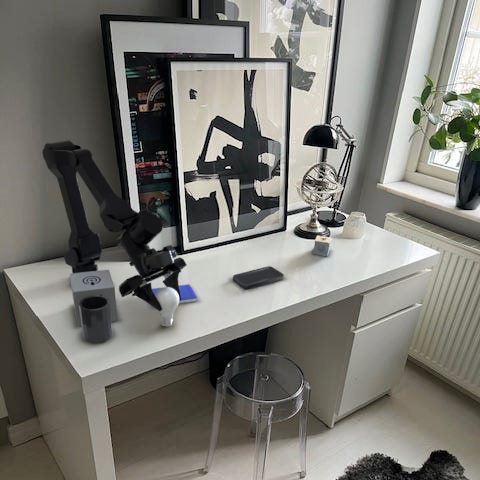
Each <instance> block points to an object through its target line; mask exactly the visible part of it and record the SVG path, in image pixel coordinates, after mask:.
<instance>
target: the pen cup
mask: <svg viewBox="0 0 480 480" xmlns="http://www.w3.org/2000/svg"><path fill="white" fill-rule="evenodd" d="M79 309H80V317H81V324H82V326H81V331H82V338H83V340H84V341H86V342H87V343H90V344H102V343H106V342H108V341H109V340H111V338H112V337H113V324H112V322H113V321H112V322H111V311H110V301H109V299H108V298H106V297H104V296H99V295H93V296H88V297H85V298H83V299H82V300H81V301H80V302H79Z"/></svg>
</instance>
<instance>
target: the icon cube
mask: <svg viewBox="0 0 480 480" xmlns="http://www.w3.org/2000/svg"><path fill="white" fill-rule="evenodd" d="M69 279H70V286H71V293H72V300H73V301H72V302H73V307H74V313H75V314H74V315H75V318H76V324H77V327H82V324H81V317H80V309H79V302H80V301H81V300H82V299H83V298H85V297H88V296H93V295H99V296H104V297H106V298H108V299H109V301H110V311H111V322H117V321H118V311H117V310H118V309H117V299H116V287H115V283H114V281H113V278H112V274H111V272H110V269H101V270H98V271H91V272H81V273H72V272H71V273H69Z"/></svg>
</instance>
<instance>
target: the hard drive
mask: <svg viewBox="0 0 480 480" xmlns="http://www.w3.org/2000/svg"><path fill="white" fill-rule="evenodd" d="M178 285H179V290H180V295H181V301H179V304H185V303H191V302H192V303H193V302H197V301H198V297H197V295H196V292H195V291H194V289H193V287H192V286H191V284H190V283H189V284H178ZM160 288H163V286H162V287H155V288H154V287H152V291H153V293H154V294H155V293H156V292H157V291H158V290H159V289H160Z"/></svg>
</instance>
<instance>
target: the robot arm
mask: <svg viewBox="0 0 480 480" xmlns="http://www.w3.org/2000/svg"><path fill="white" fill-rule="evenodd" d="M42 157H43V158H42V159H43V160H44V162H45V164H46V167H47V169H48V170H49V171H50V172H51V173H52V174H53V175H54V177H56V179H57V183H58V187H59V191H60V194H61V198H62V201H63V205H64V209H65V213H66V217H67V221H68V223H69V228H70V234H69V237H68V241H67V244H68V249H69V250H68V251H67V252H66V253H65V255H64V256H63V259H64V262H65V264H66V265H68V266H69V267H71V271H72V272H71V274H72V273H81V272H91V271H99V268H98V267H99V266H98V264H97V263H96V262H97V261H100V260H101V255H102V254H103V253H102V252H103V246H102V243H101V239H100V238H101V237H100V235H99V233H97V232H94V231H93V230H92V229H91V228H90V223H89V220H88V218H87V217H88V216H87V212H86V208H85V204H84V200H83V197H82V193H81V188H80V184H79V181H78V176H77V173H78V175H79V177H80V178H81V180H82V181H83V183H84V184H85V186H86V188H87V189H88V190H89V192H90V193H91V195H92V197H93V199H95V201H96V203H97V204H98V207H99V217H100V219H101V221H102V223H103V225H104V227H105V229H106V230H107V231H108V232H110V233H113V234H115V233H118V232H122V231H124V230H125V231H124V232H122V233H119V234H117V235H116V241H115V245H116V246H118V247H119V246H122V248H123V249H124V252H125V253H126V255H127V256H128V259H129V260H130V261H129V263H128V264H129V266H130V267H134V268H135V270H136V272H137V273H138V274H135V275H133V276H130V277H127V278H126V279H125V280H123V282H122V283H120V284H119V285H118V292H119V293H120V295H121V297H122V298H124V297H127V296H129V295H131V296H132V297H137V298H138V299H141V300H142V301H144V302H145V303H146V304H148V305H149V306H151V307H153V308H154V309H155V310H157V311H158V312H160V311H161V310H162V307H161V305H160V303H159V301H158V300H157V298H156V296H155V294H154V293H153V291H152V289H153V287H152V281H155V280H157V279H159V278H161V277H163V278H164V280H162V283H163V284H164V287H171V288H173V289H174V290H176V291H177V293H178V295H179V301H181V295H180V290H179V285H180V284H179V276H180V273H182V270H183V269H185V267H188V264H187V262H186V260H185V259H184V258H183V257H177V251H176V249H175V248H174V247H173V245H172V244H169V245H166V246H163V247H162V251H159V252H158V251H157V250H156V248H154V247H153V248H151V247H150V245H149V244H150V243H151V242H152V241H153V240H154V239H155V238H156V237H157V236H158V235H159V234H160V233H162V231H163V229H164V225H163V221H162V219H161V218H160V217H158V216H157V215H156V214H155V213H152V212H149V211H148V209H147V208H144V209H141V210H139V211H136V210H134V209H133V208H132V207H131V205H130V204H129V203H128V201H126V199H124V198H122V197H120V196H118V195H117V193H115V191H114V190H113V188H112V186H111V184H110V183H109V182H108V180H107V178H106V177H105V176H104V174H103V173H102V171H101V169H100V168H99V166H98V165H97V164H96V161H95V160H94V157H93V154H92V152H91V151H90V149H88V148H84V147H83V145H80V144H77V143H76V144H75V143H73V141H71V140H70V139H64V140H59V141H52V142H47V143H45V144H44V146H43V149H42Z"/></svg>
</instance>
